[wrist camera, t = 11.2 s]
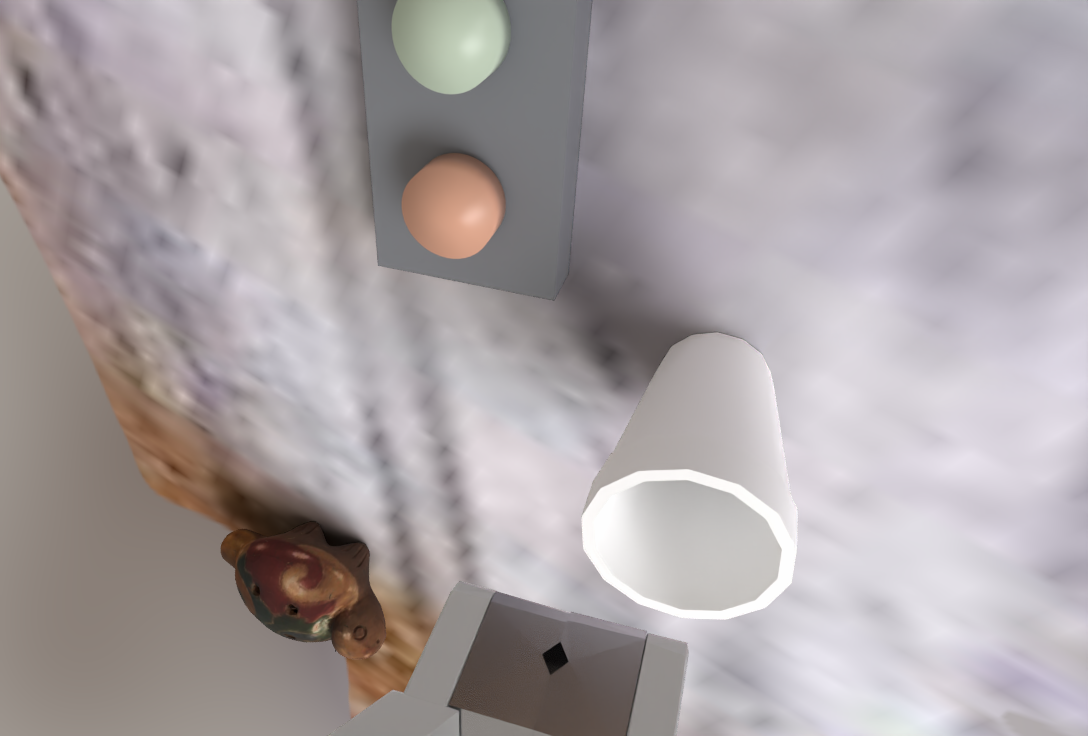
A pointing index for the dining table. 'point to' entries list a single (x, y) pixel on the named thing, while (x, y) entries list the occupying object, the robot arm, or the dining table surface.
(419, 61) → the sage button
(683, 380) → the foam cup
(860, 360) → the dining table surface
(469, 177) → the orange rounded lump
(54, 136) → the dining table surface
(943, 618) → the dining table surface
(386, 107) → the console
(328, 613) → the decorative turtle
